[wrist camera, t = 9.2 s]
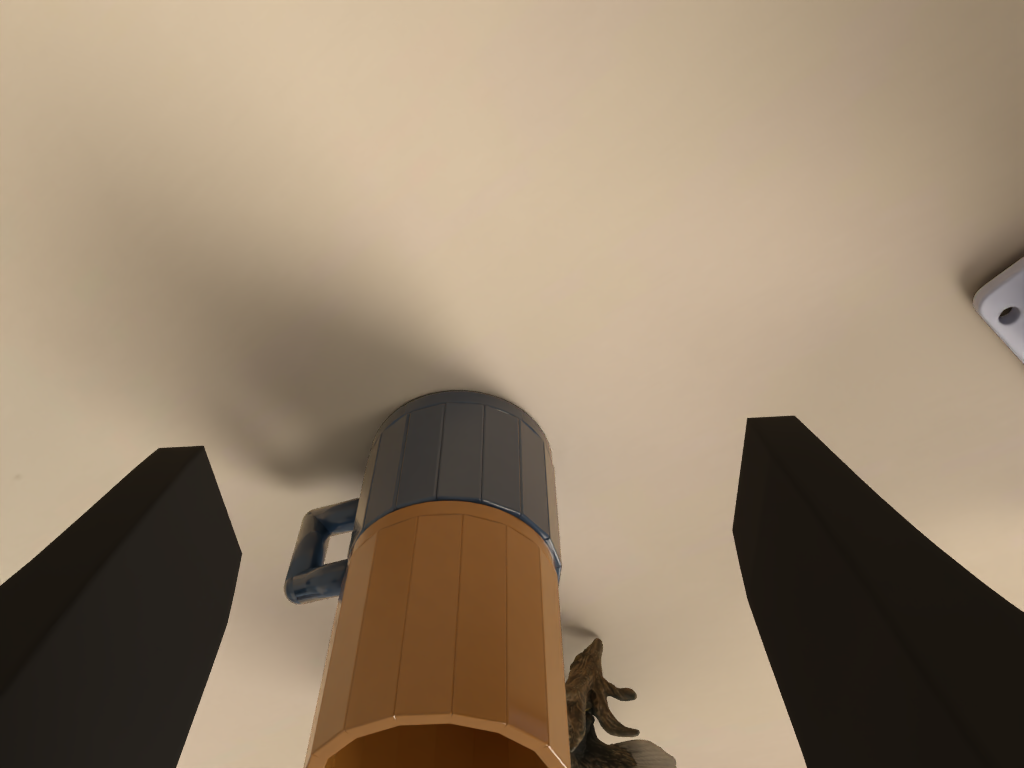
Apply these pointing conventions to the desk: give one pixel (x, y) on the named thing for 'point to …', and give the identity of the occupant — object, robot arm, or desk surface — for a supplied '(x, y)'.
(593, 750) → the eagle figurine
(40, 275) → the desk surface
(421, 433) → the cup
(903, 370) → the desk surface
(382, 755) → the orange tumbler
